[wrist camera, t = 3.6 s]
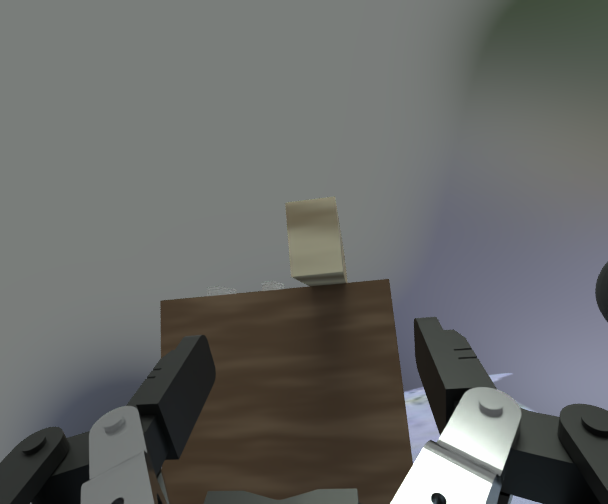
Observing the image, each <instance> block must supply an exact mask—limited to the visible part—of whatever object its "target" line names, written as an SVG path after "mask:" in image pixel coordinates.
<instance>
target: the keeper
mask: <svg viewBox="0 0 608 504" xmlns="http://www.w3.org/2000/svg"><path fill="white" fill-rule="evenodd" d="M279 289H284V285H283V284H281V283H278V282H275V281H266V282H262V291H268V290H279ZM226 294H236V289H231V288H225V287H219V286H215V287H207V296H216V295H226Z"/></svg>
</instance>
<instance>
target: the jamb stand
mask: <svg viewBox="0 0 608 504" xmlns="http://www.w3.org/2000/svg"><path fill="white" fill-rule="evenodd" d="M195 335H205V336H206V338H207V340H208V344H209V347H210V351H211V354H212V357H213V361H214V364H215V369H216V377H215V382H214V385H213V387H212V389H211V391H210V393H209V395H208V398H207V400H206V402H205V404H204V406H203V408H202V411H201V413H200V415H199V417H198V419H197V421H196V424H195V426H194V428H193V430H192V432H191V434H190V437H189V439H188V441H187V443H186V445H185V447H184V450H183V452H182V454H181V456H180V458H179V459H177V460H165V461H164V463H163V465H162V471H163V474H164V478H165V482H166V486H167V490H168V494H169V498H170V502H171V504H204V501H205V498H206V495H207V492H208V491H246V492H250V493H253V494H257V495H261V496H264V497H268V498H271V499H275V500H283V499H286V498H290V497H293V496H297V495H300V494H304V493H307V492H311V491H314V490H318V489H354V488H357V491H358V499H359V503H363V504H391V502H392V500H393V499H394V497H395V495H396V493H397V492H398V490H399V488H400V487H401V485H402V483H403V481H404V480H405V478H406V476H407V475H408V473H409V471H410V469H411V468H412V466H413V462H412V454H411V446H410V438H409V431H408V423H407V415H406V407H405V400H404V392H403V384H402V376H401V368H400V361H399V353H398V345H397V337H396V330H395V322H394V315H393V307H392V299H391V291H390V283H389V279H384V280H373V281H363V282H352V283H342V284H331V285H321V286H310V287H300V288H290V289H279V290H268V291H258V292H248V293H237V294H226V295H216V296H206V297H196V298H185V299H174V300H164V301H161V358H162V357H164V356H165V355H166V354H168V353H169V352H170V351H171V350H175V349H176V347H177V346H178V344H179V343H180V342H181V340H182V339H183V337H185V336H195Z"/></svg>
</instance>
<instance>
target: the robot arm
mask: <svg viewBox="0 0 608 504" xmlns="http://www.w3.org/2000/svg"><path fill="white" fill-rule="evenodd" d="M595 293H596V300H597V304H598V307H599V309H600V311H601V313H602V315H603V316H604V318H605V319H606V320H607V322H608V262H607V263H606V264H605V266H604V267H603V268H602V270H601V272H600V274H599V276H598V279H597V283H596V292H595ZM414 335H415V336H414V337H415V357H416V363H417V368H418V372H419V375H420V378H421V381H422V384H423V387H424V390H425V393H426V396H427V398H428V401H429V404H430V407H431V410H432V413H433V416H434V419H435V422H436V425H437V428H438V430H439V433H440V438H439V440H438V441H437V442H434V441H432V440H430V441H428V442H427V443H426V444H425V446H424V447H423V449H422V451H421V452H420V454H419V456H418V457H417V459H416V461H415V463H414V464H413V466H412V468H411V469H410V471H409V473H408V475H407V476H406V478H405V480H404V481H403V483H402V485H401V487H400V488H399V490H398V492H397V493H396V495H395V497H394V499H393V500H392V502H391V504H511V500H512V497H513V495H514V496H518V497H521V498H525V499H528V500H532V501H535V502H539V503H542V504H608V411H607V410H604V409H602V408H599V407H596V406H592V405H587V404H572V405H568V406H566V407H564V408H563V409H562V411H561V412H560V417H556V416H551V415H546V414H541V413H536V412H531V411H528V410H525V409H522V408H520V407H519V405H518V404H517V402H516V401H515V400H514V399H513V398H512V397H510V396H509V395H507V394H506V393H504V392H502V391H499V390H497V389H496V387H495V386H494V384H493V382H492V380H491V379H490V377H489V376H488V374H487V373H486V371H485V369H484V368H483V366H482V364H481V363H480V361H479V359H477V356H476V354H475V353H474V351H473V350H472V348H471V346H470V345H469V343H468V342H467V340H466V338H465V337H463V336H462V335H461V334H459V333H458V332H456V331H455V330H443V329H442V327H441V325H440V323H439V321H438V319H437V318H436V317H427V318H415V319H414ZM215 377H216V369H215V364H214V361H213V357H212V354H211V351H210V347H209V344H208V340H207V338H206V336H205V335H195V336H185V337H183V339H182V340H181V342H180V343H179V344H178V346H177V347H176V349H175V350H171V351H170V352H169V353H168V354H166V355H165V356H164V357H162V358H161V359H160V360H159V362H158V363H157V365H156V366H155V367H154V369H153V371H151V373H150V374H149V375H148V377H147V379H145V381H144V382H143V383H142V385H141V386H140V388H139V389H138V390H137V392H136V393H135V394H134V396H133V397H132V398H131V400H130V401H129V402H128V404H127V405H126V406H123V407H119V408H117V409H114V410H112V411H110V412H108V413H107V414H105V415H104V416H102V417H101V418H100V419H99V420H98V421H97V422H96V423H95V424H94V425H93V426H92V428H91V430H90V431H89V432H85V433H82V434H79V435H76V436H73V437H69V438H66V436H65V434H64V432H63V431H62V429H61V428H59V427H49V428H46V429H42V430H40V431H38V432H36V433H34V434H32V435H30V436H29V437H27V438H26V439H24V440H23V441H21V442H20V443H19V444H18V445H17V446H16V447H15V448H14V449H13V450H12V451H11V452H10V453H9V454H8V455H7V456H6V457H5V458H4V460H3V461H2V462H1V463H0V504H30V502H31V503H32V504H171V502H170V498H169V494H168V490H167V486H166V482H165V478H164V474H163V471H162V469H161V467H162V465H163V463H164V461H165V460H177V459H179V458H180V456H181V454H182V452H183V450H184V447H185V445H186V443H187V441H188V439H189V437H190V434H191V432H192V430H193V428H194V426H195V424H196V421H197V419H198V417H199V415H200V413H201V411H202V408H203V406H204V404H205V402H206V400H207V398H208V395H209V393H210V391H211V389H212V387H213V385H214V382H215ZM204 504H363V503H359V499H358V491H357V488H354V489H318V490H314V491H311V492H307V493H304V494H300V495H297V496H293V497H290V498H286V499H283V500H275V499H271V498H268V497H264V496H261V495H257V494H253V493H250V492H246V491H208V492H207V495H206V498H205V501H204Z"/></svg>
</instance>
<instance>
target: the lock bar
mask: <svg viewBox="0 0 608 504" xmlns="http://www.w3.org/2000/svg"><path fill="white" fill-rule="evenodd" d="M286 215H287V230H288V243H289V256H290V268H291V277H293V278H295V279H297V280H299V281H300V282H302V283H304V284H306V285H308V286H321V285H331V284H342V283H347V275H346V266H345V256H344V250H343V244H342V237H341V231H340V225H339V218H338V212H337V206H336V200H335V197H327V198H319V199H311V200H303V201H295V202H288V203H286Z"/></svg>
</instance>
